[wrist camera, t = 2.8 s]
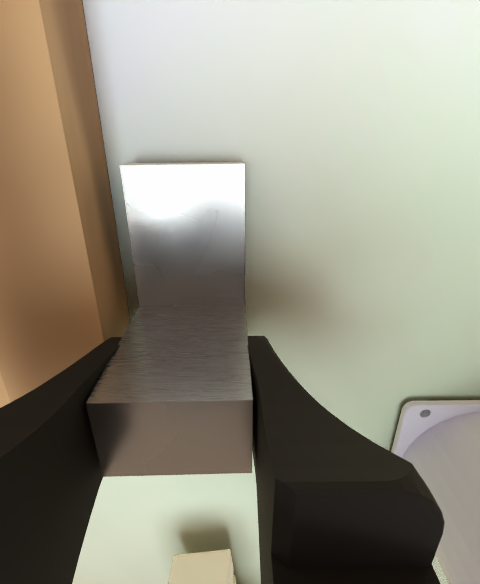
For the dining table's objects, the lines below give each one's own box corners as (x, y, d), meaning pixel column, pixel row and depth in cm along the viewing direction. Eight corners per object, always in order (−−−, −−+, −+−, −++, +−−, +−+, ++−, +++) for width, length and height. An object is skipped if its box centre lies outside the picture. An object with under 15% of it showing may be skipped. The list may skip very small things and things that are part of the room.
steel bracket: (243, 161, 12) (255, 184, 6) (243, 342, 15) (251, 472, 9) (129, 162, 12) (33, 186, 6) (152, 344, 15) (102, 476, 9)
